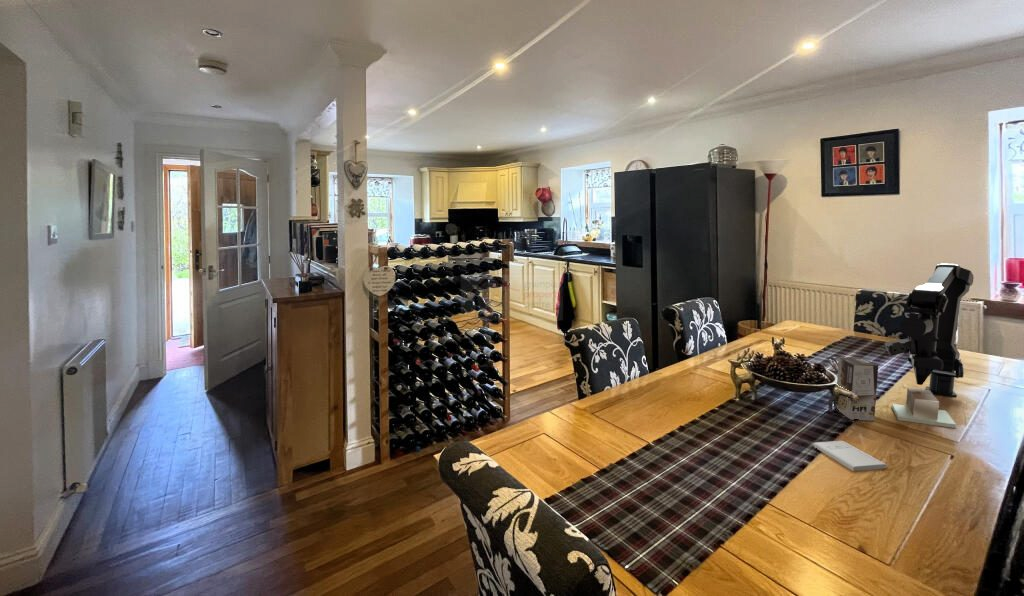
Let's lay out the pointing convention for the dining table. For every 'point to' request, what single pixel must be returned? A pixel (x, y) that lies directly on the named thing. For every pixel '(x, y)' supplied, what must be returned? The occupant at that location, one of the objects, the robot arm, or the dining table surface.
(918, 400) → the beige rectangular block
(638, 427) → the dining table surface
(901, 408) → the mat
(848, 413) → the coffee box
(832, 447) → the external hard drive
